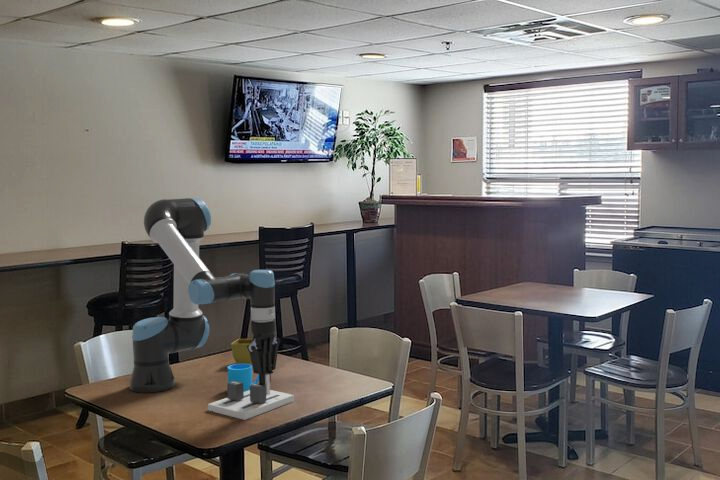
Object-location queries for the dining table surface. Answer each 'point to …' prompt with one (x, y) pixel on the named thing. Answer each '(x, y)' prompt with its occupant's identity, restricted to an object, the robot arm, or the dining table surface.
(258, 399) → the fader
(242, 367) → the mug
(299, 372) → the dining table surface
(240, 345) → the flower pot
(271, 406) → the console
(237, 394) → the fader
